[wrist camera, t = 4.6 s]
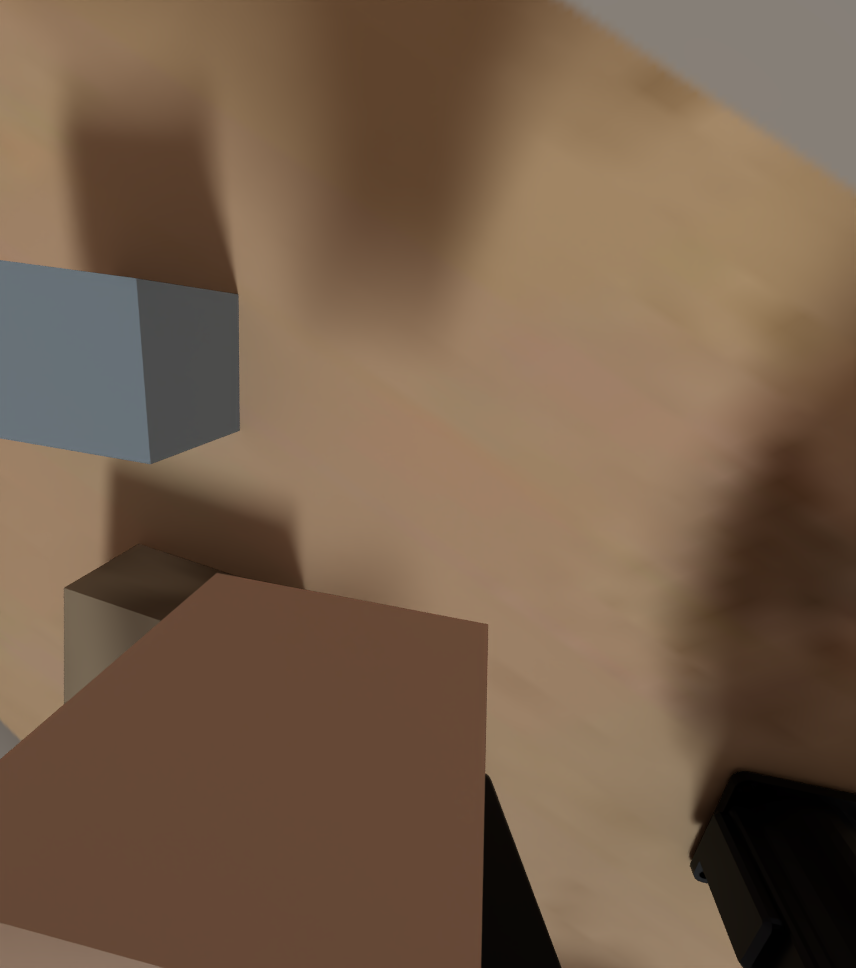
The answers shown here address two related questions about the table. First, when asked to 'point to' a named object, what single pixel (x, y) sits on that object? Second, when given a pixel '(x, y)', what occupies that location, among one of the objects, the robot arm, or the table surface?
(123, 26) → the table surface
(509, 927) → the robot arm
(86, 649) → the taupe faceted block
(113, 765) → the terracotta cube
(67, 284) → the slate cube
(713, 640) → the table surface
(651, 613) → the table surface
